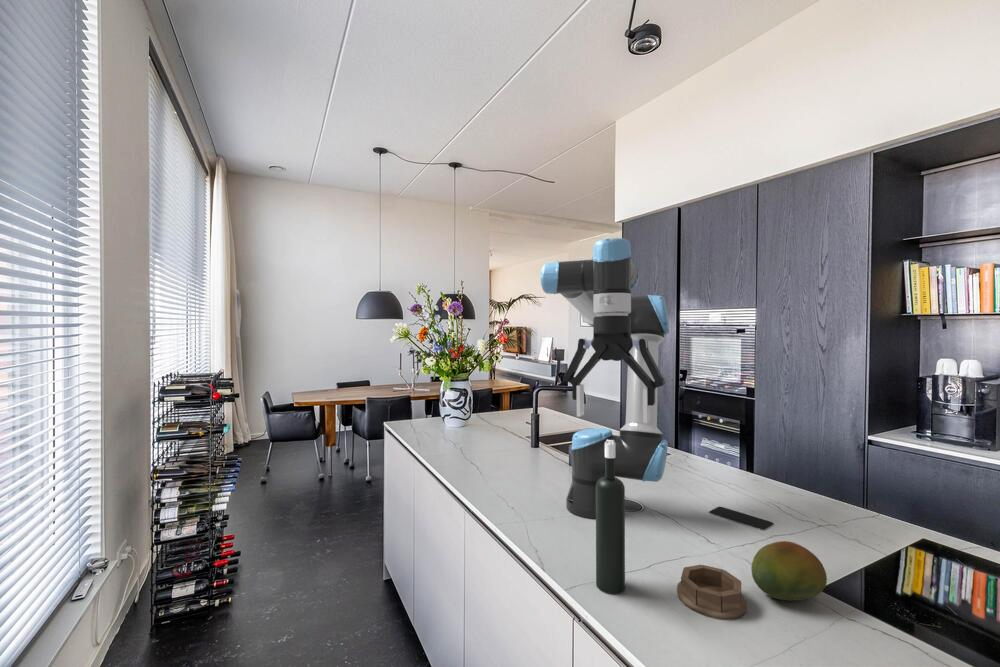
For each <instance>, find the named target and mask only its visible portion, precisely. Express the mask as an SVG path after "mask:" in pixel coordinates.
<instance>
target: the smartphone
mask: <svg viewBox="0 0 1000 667" xmlns="http://www.w3.org/2000/svg"><path fill="white" fill-rule="evenodd" d="M708 514H710V515H713V516H715V517H718V518H722V519H724V520H728V521H730V522H733V523H737V524H740V525H743V526H745V527H749V528H752V529H755V530H758V531H764V532H765V531H767V530H768V529H770V528H771V527H773V526H774V525H775V523H774V522H772V521H770V520H767V519H764V518H760V517H757V516H754V515H750V514H746V513H743V512H740V511H736V510H733V509H730V508H727V507H724V506H717V507H715V508H713V509H711V510H709V511H708Z"/></svg>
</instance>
